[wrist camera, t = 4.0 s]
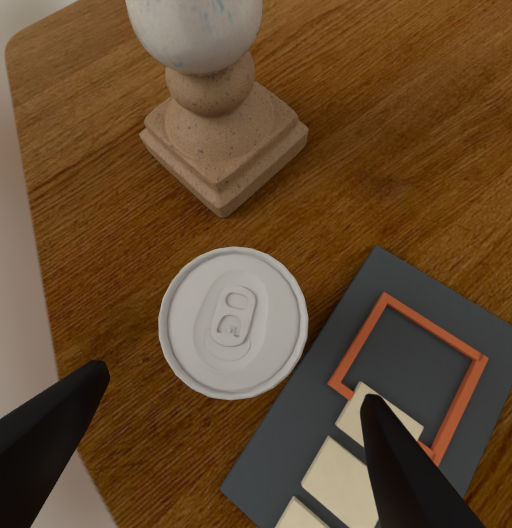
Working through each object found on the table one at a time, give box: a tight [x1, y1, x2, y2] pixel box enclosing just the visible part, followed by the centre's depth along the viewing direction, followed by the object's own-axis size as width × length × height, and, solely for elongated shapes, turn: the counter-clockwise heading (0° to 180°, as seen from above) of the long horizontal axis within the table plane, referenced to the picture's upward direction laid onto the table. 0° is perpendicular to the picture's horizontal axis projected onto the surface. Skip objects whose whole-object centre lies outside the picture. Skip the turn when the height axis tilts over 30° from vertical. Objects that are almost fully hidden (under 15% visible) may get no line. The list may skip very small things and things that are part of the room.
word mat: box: [220, 245, 512, 528], centre depth 17 cm, size 21×12×1 cm, turn 144°
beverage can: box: [158, 247, 308, 400], centre depth 13 cm, size 5×5×12 cm
